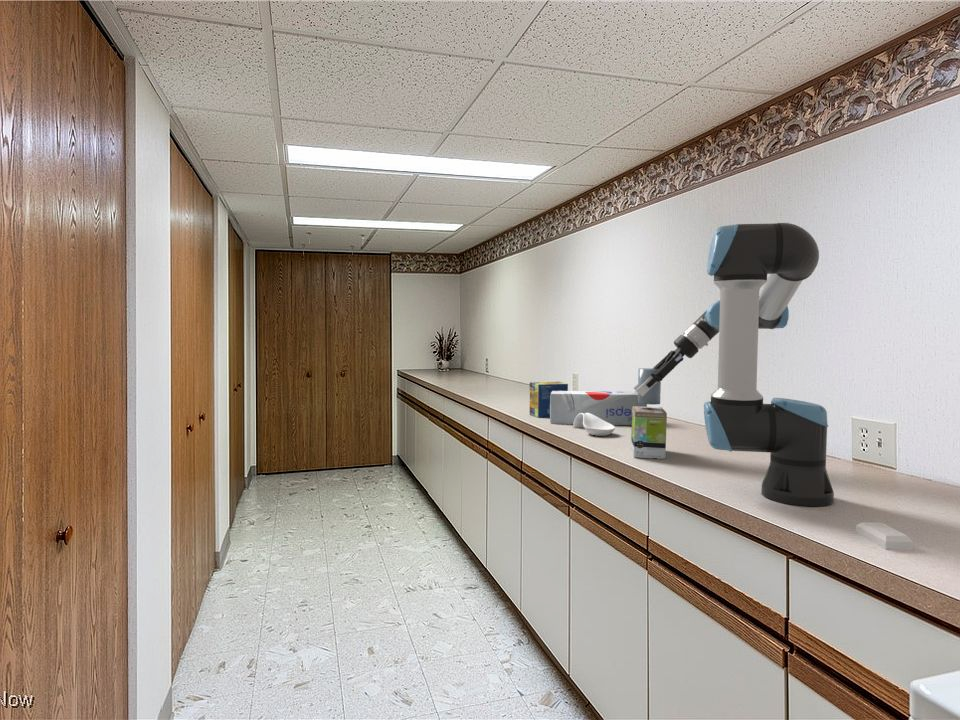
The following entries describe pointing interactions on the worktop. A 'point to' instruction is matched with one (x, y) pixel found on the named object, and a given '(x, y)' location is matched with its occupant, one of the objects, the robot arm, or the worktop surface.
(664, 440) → the tea box
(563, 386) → the protein box
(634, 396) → the soda pack
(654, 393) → the slate canister
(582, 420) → the spoon rest
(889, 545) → the soap bar
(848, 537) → the worktop surface
